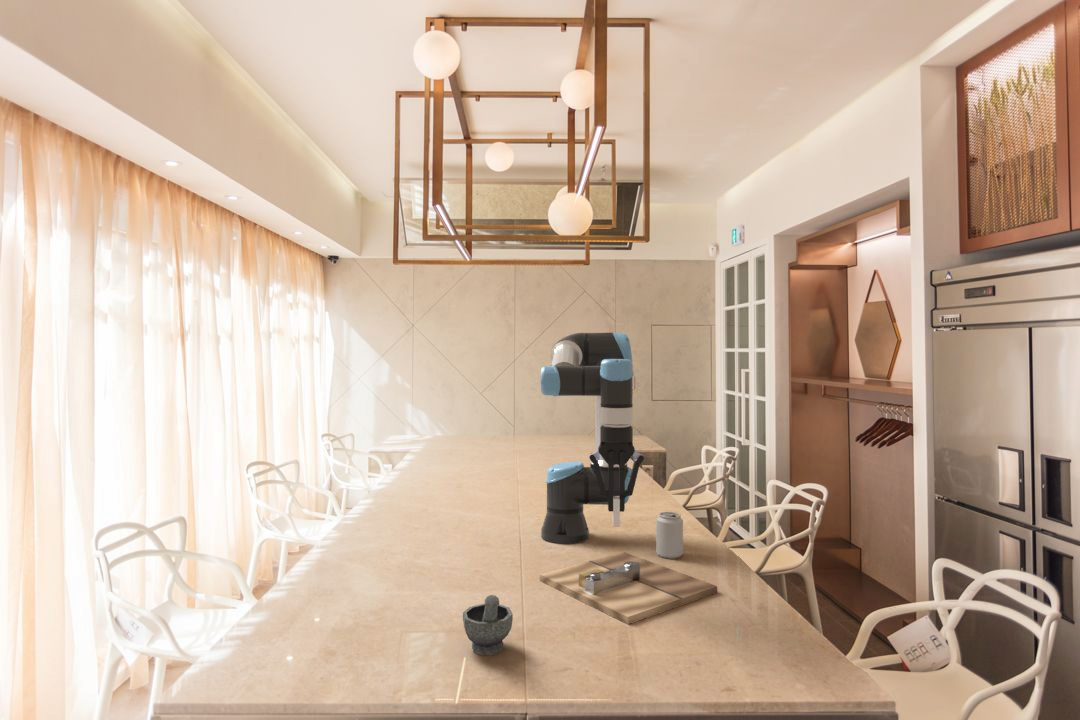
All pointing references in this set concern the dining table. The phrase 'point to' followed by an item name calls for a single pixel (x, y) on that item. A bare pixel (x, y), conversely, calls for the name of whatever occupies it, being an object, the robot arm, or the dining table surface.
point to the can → (669, 535)
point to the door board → (630, 588)
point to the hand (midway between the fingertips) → (616, 524)
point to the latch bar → (612, 577)
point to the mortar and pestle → (487, 625)
